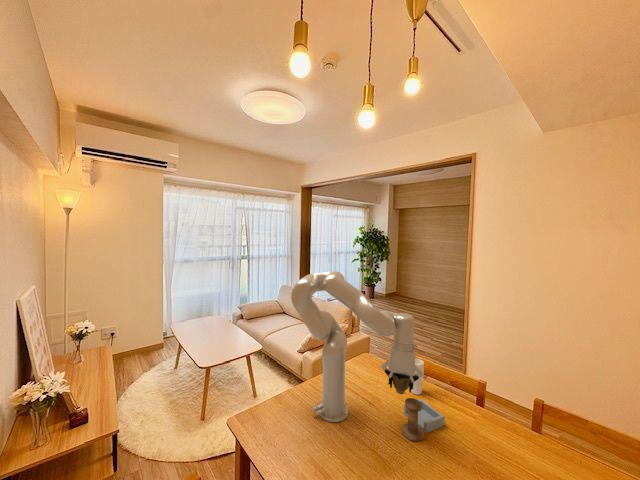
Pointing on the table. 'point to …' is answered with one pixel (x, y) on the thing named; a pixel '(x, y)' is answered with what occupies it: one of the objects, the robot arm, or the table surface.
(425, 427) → the open box
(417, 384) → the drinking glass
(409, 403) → the bobbin
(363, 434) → the table surface
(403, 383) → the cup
